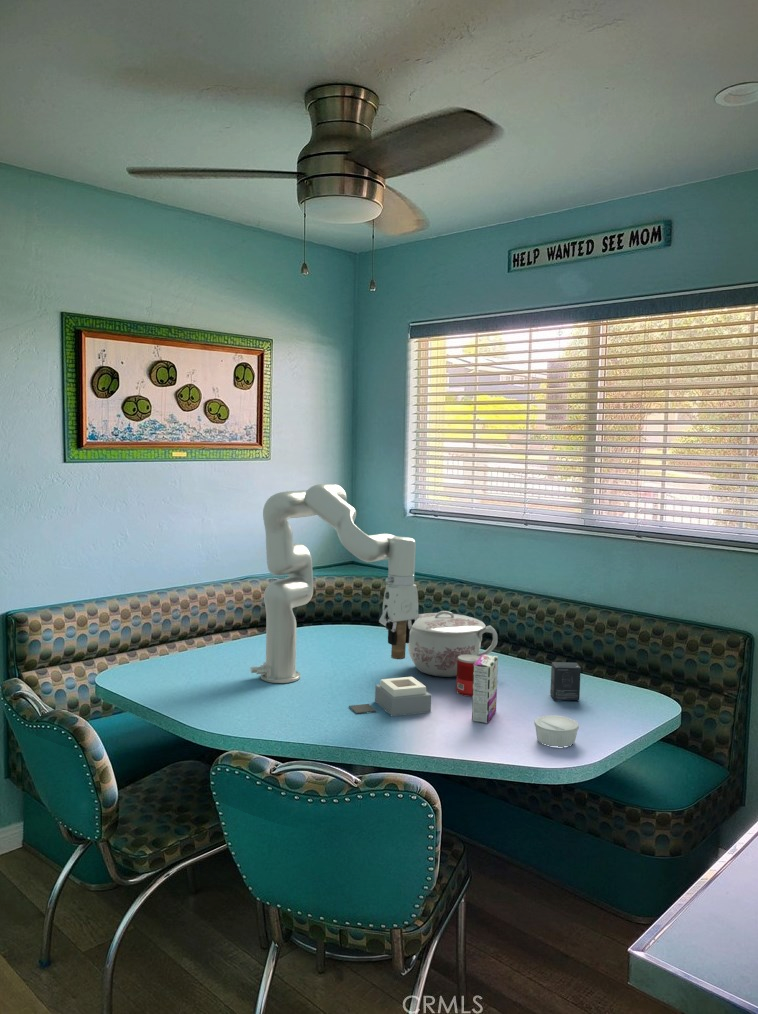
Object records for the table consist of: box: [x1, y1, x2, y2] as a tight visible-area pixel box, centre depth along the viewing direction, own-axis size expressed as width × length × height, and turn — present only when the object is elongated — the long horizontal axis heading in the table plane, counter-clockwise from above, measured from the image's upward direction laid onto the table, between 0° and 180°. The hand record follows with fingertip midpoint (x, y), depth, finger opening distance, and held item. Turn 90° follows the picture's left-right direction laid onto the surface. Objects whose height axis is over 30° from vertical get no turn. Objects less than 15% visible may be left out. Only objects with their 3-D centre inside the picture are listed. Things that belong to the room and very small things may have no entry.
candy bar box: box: [471, 654, 499, 725], centre depth 220 cm, size 11×5×16 cm, turn 160°
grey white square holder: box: [374, 676, 432, 717], centre depth 227 cm, size 12×13×7 cm
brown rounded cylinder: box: [390, 621, 407, 660], centre depth 225 cm, size 4×4×14 cm
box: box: [549, 661, 582, 701], centre depth 239 cm, size 8×6×11 cm
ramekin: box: [534, 714, 580, 747], centre depth 204 cm, size 11×11×5 cm
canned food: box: [455, 654, 480, 697], centre depth 241 cm, size 8×8×11 cm
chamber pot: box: [406, 610, 499, 678], centre depth 262 cm, size 28×28×21 cm
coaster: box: [348, 703, 377, 715], centre depth 223 cm, size 6×6×1 cm
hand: (398, 642), depth 225 cm, fingers closed on brown rounded cylinder, 4 cm apart
